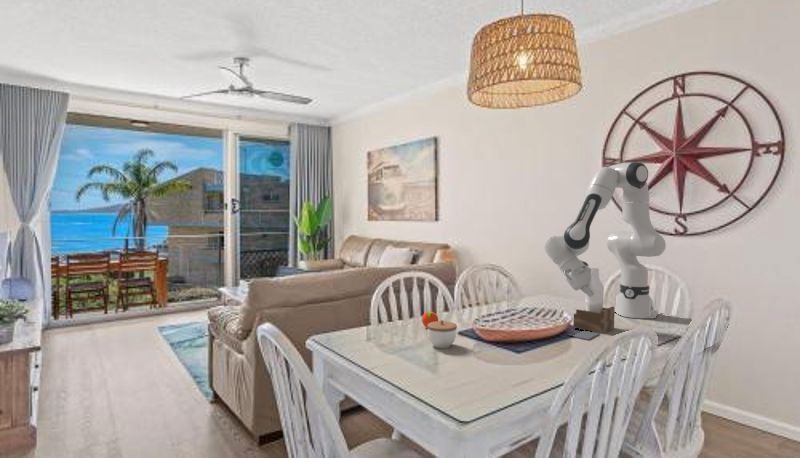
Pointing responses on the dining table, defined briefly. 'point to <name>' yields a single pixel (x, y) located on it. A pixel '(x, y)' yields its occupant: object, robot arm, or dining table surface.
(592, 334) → the mat
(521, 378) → the dining table surface
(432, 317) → the tomato
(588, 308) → the water bottle
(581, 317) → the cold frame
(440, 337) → the lidded jar
